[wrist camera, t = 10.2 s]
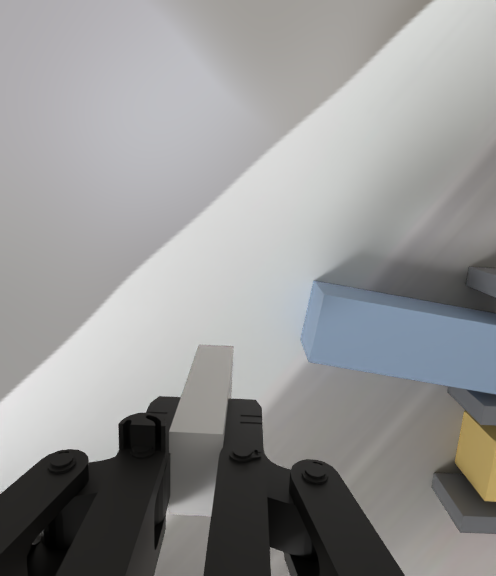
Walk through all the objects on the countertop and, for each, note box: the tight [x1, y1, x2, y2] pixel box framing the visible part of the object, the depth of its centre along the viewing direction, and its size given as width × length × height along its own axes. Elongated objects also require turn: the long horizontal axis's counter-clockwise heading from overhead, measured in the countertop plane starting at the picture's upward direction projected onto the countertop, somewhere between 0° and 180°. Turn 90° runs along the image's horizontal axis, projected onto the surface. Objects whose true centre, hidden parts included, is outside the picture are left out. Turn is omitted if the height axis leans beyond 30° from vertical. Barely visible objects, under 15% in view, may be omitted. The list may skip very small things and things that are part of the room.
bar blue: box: [301, 281, 496, 394], centre depth 25 cm, size 12×4×4 cm, turn 80°
